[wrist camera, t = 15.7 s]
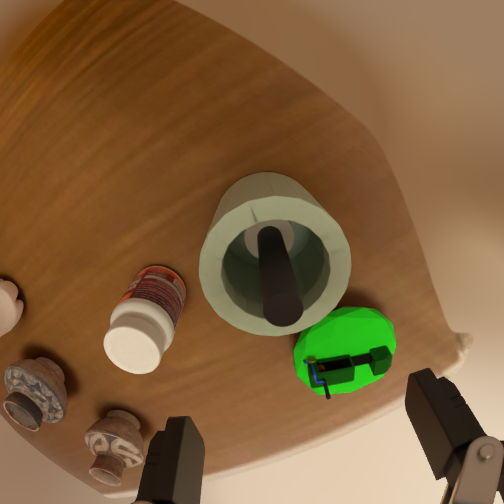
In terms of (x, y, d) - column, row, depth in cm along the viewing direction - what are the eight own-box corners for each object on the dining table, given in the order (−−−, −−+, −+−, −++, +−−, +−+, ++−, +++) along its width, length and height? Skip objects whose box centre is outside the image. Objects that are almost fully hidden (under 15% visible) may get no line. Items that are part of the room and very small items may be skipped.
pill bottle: (140, 256, 34) (99, 310, 23) (193, 274, 34) (172, 335, 24) (131, 302, 36) (95, 364, 25) (180, 319, 36) (159, 386, 26)
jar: (204, 184, 31) (180, 215, 20) (307, 163, 30) (341, 182, 19) (228, 277, 35) (220, 346, 23) (322, 258, 34) (355, 319, 23)
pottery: (136, 444, 47) (121, 498, 35) (17, 366, 40) (-16, 412, 29) (166, 420, 43) (152, 483, 32) (29, 328, 37) (-12, 379, 26)
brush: (240, 208, 31) (233, 282, 16) (284, 199, 31) (319, 265, 16) (249, 249, 33) (252, 349, 18) (292, 240, 32) (327, 334, 18)
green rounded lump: (292, 372, 40) (303, 438, 29) (285, 296, 35) (298, 360, 25) (379, 356, 39) (408, 415, 29) (386, 280, 35) (428, 334, 25)
